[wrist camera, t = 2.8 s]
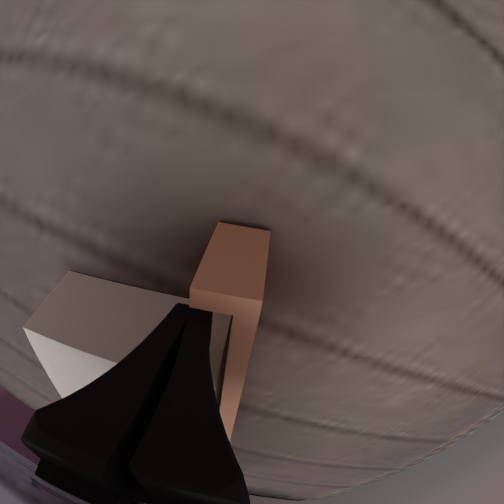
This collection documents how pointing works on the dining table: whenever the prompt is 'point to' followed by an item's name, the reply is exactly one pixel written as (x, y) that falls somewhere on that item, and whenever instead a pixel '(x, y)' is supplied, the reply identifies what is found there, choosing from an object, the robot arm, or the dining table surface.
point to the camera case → (105, 329)
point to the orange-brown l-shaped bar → (233, 299)
